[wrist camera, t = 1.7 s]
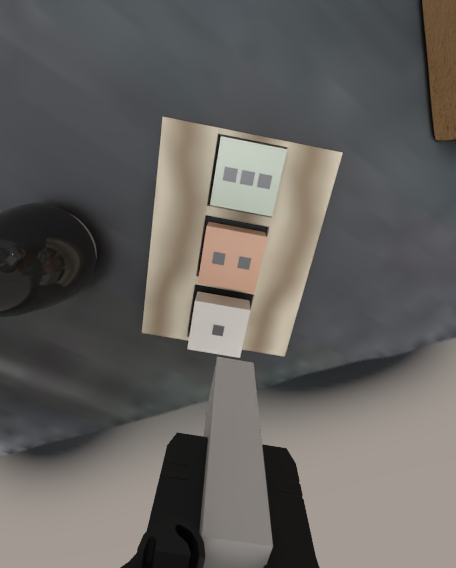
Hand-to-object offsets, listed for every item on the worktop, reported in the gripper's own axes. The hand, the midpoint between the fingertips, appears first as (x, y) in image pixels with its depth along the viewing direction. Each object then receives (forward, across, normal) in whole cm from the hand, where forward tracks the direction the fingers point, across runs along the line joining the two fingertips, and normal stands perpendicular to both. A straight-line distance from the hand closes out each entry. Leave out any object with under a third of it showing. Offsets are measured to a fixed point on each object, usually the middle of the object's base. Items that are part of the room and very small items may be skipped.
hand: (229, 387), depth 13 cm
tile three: (+22, 0, +8) cm, 24 cm away
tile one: (+22, 0, -8) cm, 24 cm away
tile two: (+22, 0, 0) cm, 22 cm away
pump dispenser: (+25, -19, -3) cm, 31 cm away
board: (+24, 0, 0) cm, 24 cm away
